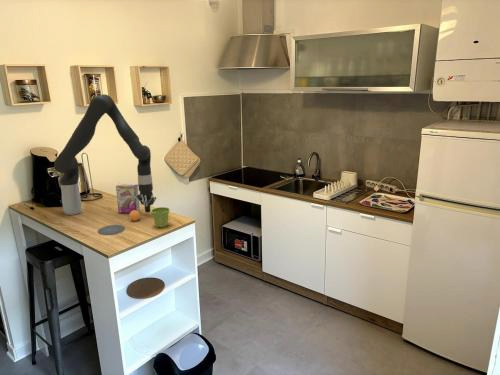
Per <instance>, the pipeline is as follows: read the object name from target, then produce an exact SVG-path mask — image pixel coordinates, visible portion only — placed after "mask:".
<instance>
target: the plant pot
mask: <svg viewBox="0 0 500 375" xmlns="http://www.w3.org/2000/svg"><path fill="white" fill-rule="evenodd" d="M170 209H171V208H170V207H162V206H160V207H154V208H152V209H150V212H151V214H152V216H153V220H154V225H155V228H159V227H161V228H166V227H167V226H168V224H169V223H168V222H169V213H170V211H171V210H170Z"/></svg>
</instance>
